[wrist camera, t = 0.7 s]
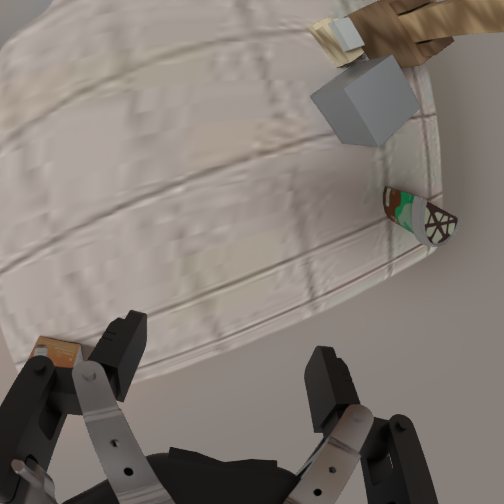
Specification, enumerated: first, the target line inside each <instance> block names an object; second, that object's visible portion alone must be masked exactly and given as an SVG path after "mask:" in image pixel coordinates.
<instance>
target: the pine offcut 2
mask: <svg viewBox="0 0 504 504" xmlns="http://www.w3.org/2000/svg"><path fill="white" fill-rule="evenodd" d="M334 20H338V18H336V19H334ZM334 20H333V21H334ZM331 22H332V21H331ZM329 23H330V22H329ZM316 33H317V34H318V35H319V36H320V37H321V38H322V40H323V41H324V42H325V43H326V44H327V46H328V47H329V48H330V49H331V51H332V52H333V53H334V54H335V56H336V57H337V58H338V60H339V61H340V62H341V63H342V65H344V64H347V63H350V62H352V61H353V60H355V59H356V58H357V57H359V56H360V55H362V54H363V53H364V51H363V50H362V48H361V47H357V48H354V49H351V50H348V51H345V52H344V51H343V50H342V48H341V46H340V44H339V43H338V41H337V39H336V38H335V36H334V34H333V33H332V31H331V29H330V28H329V26H328V23H327V24H326V25H324V26H322V27H321V28H319V29H317V30H316Z"/></svg>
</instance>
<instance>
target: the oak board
mask: <svg viewBox="0 0 504 504" xmlns="http://www.w3.org/2000/svg"><path fill="white" fill-rule="evenodd" d="M398 18H399V19H400V21H401V22H402V24H403V25H404V27H405V28H406V30H407V32H408V33H409V35H410V36H411V38H412V40H413V41H414V42H419V41H425V40H430V39H436V38H443V37H450V36H457V35H467V34H478V33H495V32H504V0H445V1H441V2H436V3H432V4H429V5H425V6H421V7H419V8H416V9H414V10H412V11H410V12H408V13H405V14H403V15H401V16H399V17H398Z"/></svg>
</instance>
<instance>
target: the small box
mask: <svg viewBox="0 0 504 504" xmlns="http://www.w3.org/2000/svg"><path fill="white" fill-rule="evenodd" d="M37 355H43V356H46V357H48V358H50V359H51V360H52V362H53V364H54V366H58V367H68V368H73V367H75V365H77V364H78V363H80V362H82V361H83V357H82V351H81V345H80V344H75V343H68V342H63V341H59V340H54V339H50V338H45V337H42V336H39V338H38V340H37V342H36V344H35V346H34V348H33V350H32V352H31V355H30V357H29V359H30V358H31V357H33V356H37ZM29 359H28V360H29Z"/></svg>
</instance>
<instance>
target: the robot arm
mask: <svg viewBox="0 0 504 504" xmlns="http://www.w3.org/2000/svg"><path fill="white" fill-rule="evenodd" d="M146 341H147V314H146V313H142V312H138V311H134V310H130V311H129V313H128V315H127V316H126V318H125V319H122V318H117V319H115V320H114V321H112V322H111V323H110V324H109V326H108V327H107V329H106V331H105V332H104V334H103V335H102V338H100V340H99V342H98V343H97V345H96V347H95V348H94V350H93V352H92V353H91V355H90V357H89V358H88V360H87V361H82V362H80V363H78V364H77V365H75V367H73V368H68V367H58V366H54V364H53V362H52V360H51V359H50V358H48V357H46V356H43V355H37V356H33V357H31V358H30V359H29V360H28V361H27V362H26V364H25V365H24V367H23V368H22V370H21V372H20V373H19V375H18V377H17V378H16V380H15V381H14V383H13V385H12V387H11V388H10V390H9V392H8V394H7V395H6V397H5V399H4V401H3V402H2V404H1V406H0V504H58V503H57V501H56V499H55V494H54V492H55V485H54V482H53V480H52V478H51V477H50V476H49V475H48V473H47V469H48V466H49V463H50V460H51V457H52V454H53V451H54V448H55V445H56V443H57V440H58V437H59V435H60V431H61V429H62V427H63V424H64V422H65V419H66V417H67V414H72V415H83V418H84V421H85V424H86V427H87V430H88V433H89V436H90V438H91V441H92V444H93V446H94V449H95V451H96V454H97V456H98V458H99V461H100V463H101V465H102V468H103V470H104V472H105V474H106V476H107V479H106V480H104V481H103V482H101V483H99V484H97V485H95V486H94V487H92V488H90V489H88V490H86V491H84V492H83V493H80V494H79V495H77V496H75V497H73V498H71V499H69V500H67V501H65V502H63V503H62V504H334V503H335V502H336V500H337V499H338V497H339V495H340V494H341V492H342V491H343V489H344V487H345V485H346V484H347V482H348V480H349V478H350V476H351V475H352V473H353V471H354V469H355V467H356V465H357V463H358V462H359V460H361V465H362V471H363V476H364V482H365V488H366V494H367V499H368V504H438V501H437V497H436V493H435V489H434V486H433V482H432V479H431V476H430V473H429V469H428V466H427V463H426V460H425V457H424V454H423V451H422V448H421V445H420V442H419V439H418V436H417V433H416V431H415V428H414V425H413V423H412V421H411V420H410V419H409V418H408V417H406V416H404V415H400V414H396V415H394V416H392V417H391V418H390V419H389V420H384V419H380V418H376V417H373V414H372V412H371V411H370V410H369V409H368V408H367V407H365V406H363V405H361V404H360V401H359V398H358V395H357V392H356V389H355V386H354V384H353V382H352V378H351V376H350V372H349V370H348V367H347V365H346V364H345V363H344V361H343V360H342V359H341V358H337V357H336V354H335V351H334V349H333V347H327V346H317V347H316V348H315V350H314V352H313V354H312V356H311V358H310V361H309V362H308V364H307V366H306V369H305V375H304V379H305V385H306V390H307V395H308V400H309V406H310V412H311V417H312V423H313V428H314V433H323V436H324V437H323V438H322V440H321V441H320V442H319V444H318V445H317V447H316V448H315V450H314V451H313V452H312V454H311V455H310V456H309V458H308V459H307V461H306V462H305V463H304V465H303V466H302V467H301V468H300V469H299V470H298V472H297V473H296V474H293V473H292V472H290V471H288V470H286V469H283V468H280V467H277V461H276V460H258V459H248V460H240V461H231V462H222V461H219V460H216V459H213V458H210V457H208V456H205V455H203V454H200V453H198V452H193V451H188V450H183V449H178V448H173V447H170V450H169V453H157V454H152V455H148V456H144V454H143V452H142V450H141V448H140V446H139V444H138V443H137V441H136V439H135V437H134V435H133V433H132V431H131V429H130V426H129V425H128V422H127V420H126V418H125V416H124V414H123V412H122V410H121V409H120V408H119V406H118V404H117V402H116V400H117V401H120V402H124V399H125V397H126V394H127V392H128V389H129V387H130V384H131V382H132V379H133V377H134V374H135V372H136V369H137V367H138V365H139V362H140V360H141V357H142V355H143V353H144V350H145V347H146ZM389 455H390V456H389ZM390 458H391V461H392V464H391V461H390ZM392 465H393V468H392Z"/></svg>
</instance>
